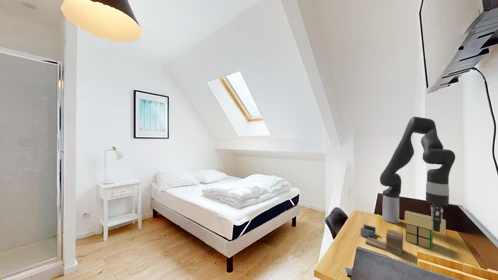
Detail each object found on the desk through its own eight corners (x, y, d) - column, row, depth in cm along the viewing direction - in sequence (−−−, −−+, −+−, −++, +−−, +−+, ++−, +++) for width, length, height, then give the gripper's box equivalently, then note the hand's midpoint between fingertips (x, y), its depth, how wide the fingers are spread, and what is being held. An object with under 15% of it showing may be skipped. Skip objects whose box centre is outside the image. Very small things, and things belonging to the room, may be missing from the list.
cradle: (363, 230, 115) (364, 224, 115) (375, 234, 111) (375, 227, 111) (360, 235, 109) (360, 228, 109) (372, 239, 105) (372, 232, 105)
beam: (368, 238, 105) (368, 223, 105) (402, 249, 95) (402, 232, 95) (365, 243, 100) (365, 227, 100) (401, 255, 90) (401, 237, 90)
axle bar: (404, 220, 96) (405, 210, 96) (444, 230, 86) (445, 219, 86) (404, 222, 93) (404, 212, 93) (445, 233, 83) (445, 222, 83)
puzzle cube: (408, 235, 110) (409, 218, 110) (432, 242, 103) (432, 224, 103) (405, 241, 104) (405, 223, 104) (430, 249, 96) (430, 229, 96)
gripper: (450, 197, 79) (449, 238, 79) (447, 191, 89) (446, 227, 89) (426, 193, 84) (424, 232, 84) (425, 188, 94) (424, 222, 94)
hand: (436, 229), depth 87 cm, fingers closed on axle bar, 4 cm apart
